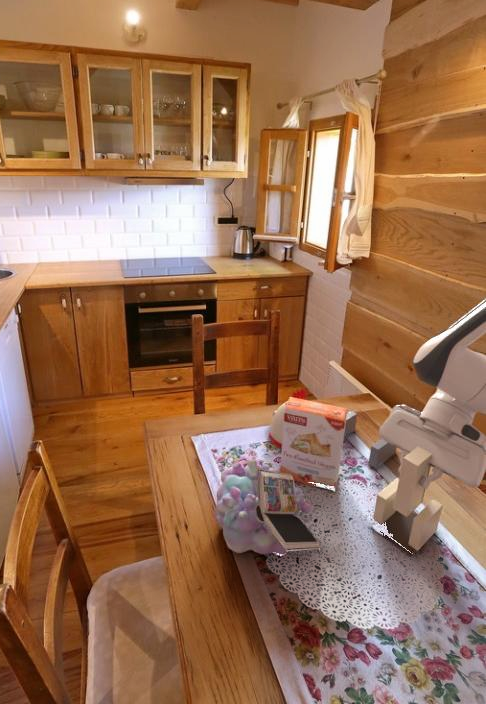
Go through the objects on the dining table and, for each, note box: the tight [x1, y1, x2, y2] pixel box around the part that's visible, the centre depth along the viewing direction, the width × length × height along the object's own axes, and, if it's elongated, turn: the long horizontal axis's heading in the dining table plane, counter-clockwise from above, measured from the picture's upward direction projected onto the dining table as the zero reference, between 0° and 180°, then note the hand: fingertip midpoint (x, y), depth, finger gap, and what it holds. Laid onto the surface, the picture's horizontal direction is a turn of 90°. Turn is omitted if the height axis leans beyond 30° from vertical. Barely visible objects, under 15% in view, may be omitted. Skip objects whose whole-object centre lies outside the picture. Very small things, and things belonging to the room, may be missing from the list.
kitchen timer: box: [268, 388, 308, 450], centre depth 116 cm, size 14×14×15 cm
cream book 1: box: [372, 477, 399, 525], centre depth 89 cm, size 2×8×7 cm, turn 128°
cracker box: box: [279, 396, 348, 488], centre depth 99 cm, size 14×6×21 cm, turn 68°
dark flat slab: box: [380, 511, 418, 558], centre depth 88 cm, size 9×10×2 cm
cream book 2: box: [408, 499, 444, 552], centre depth 83 cm, size 2×8×7 cm, turn 128°
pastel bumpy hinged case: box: [214, 455, 321, 555], centre depth 85 cm, size 20×22×18 cm
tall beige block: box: [393, 447, 432, 517], centre depth 84 cm, size 3×6×13 cm, turn 128°
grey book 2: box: [368, 438, 398, 469], centre depth 109 cm, size 2×10×6 cm, turn 128°
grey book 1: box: [344, 410, 358, 438], centre depth 118 cm, size 2×10×6 cm, turn 128°
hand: (411, 480), depth 83 cm, fingers closed on tall beige block, 3 cm apart
